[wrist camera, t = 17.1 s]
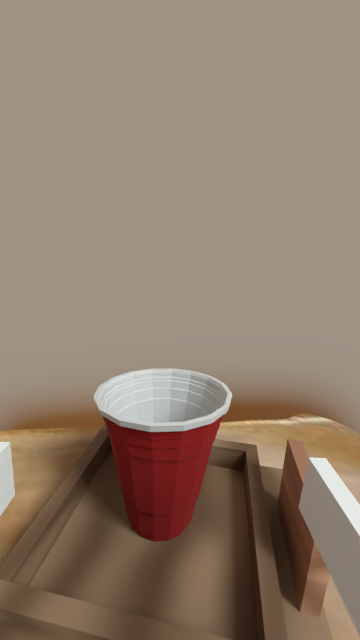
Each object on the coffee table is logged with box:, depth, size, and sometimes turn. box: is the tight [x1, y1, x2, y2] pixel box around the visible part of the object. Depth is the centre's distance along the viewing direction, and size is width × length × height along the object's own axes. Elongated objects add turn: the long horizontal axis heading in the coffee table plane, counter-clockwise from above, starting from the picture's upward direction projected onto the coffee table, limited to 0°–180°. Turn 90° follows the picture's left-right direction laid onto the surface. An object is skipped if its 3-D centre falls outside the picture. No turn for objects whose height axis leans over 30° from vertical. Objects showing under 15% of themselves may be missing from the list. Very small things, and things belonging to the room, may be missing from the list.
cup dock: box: [0, 424, 332, 640], centre depth 22 cm, size 21×17×8 cm
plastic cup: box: [93, 368, 232, 542], centre depth 23 cm, size 11×11×12 cm
